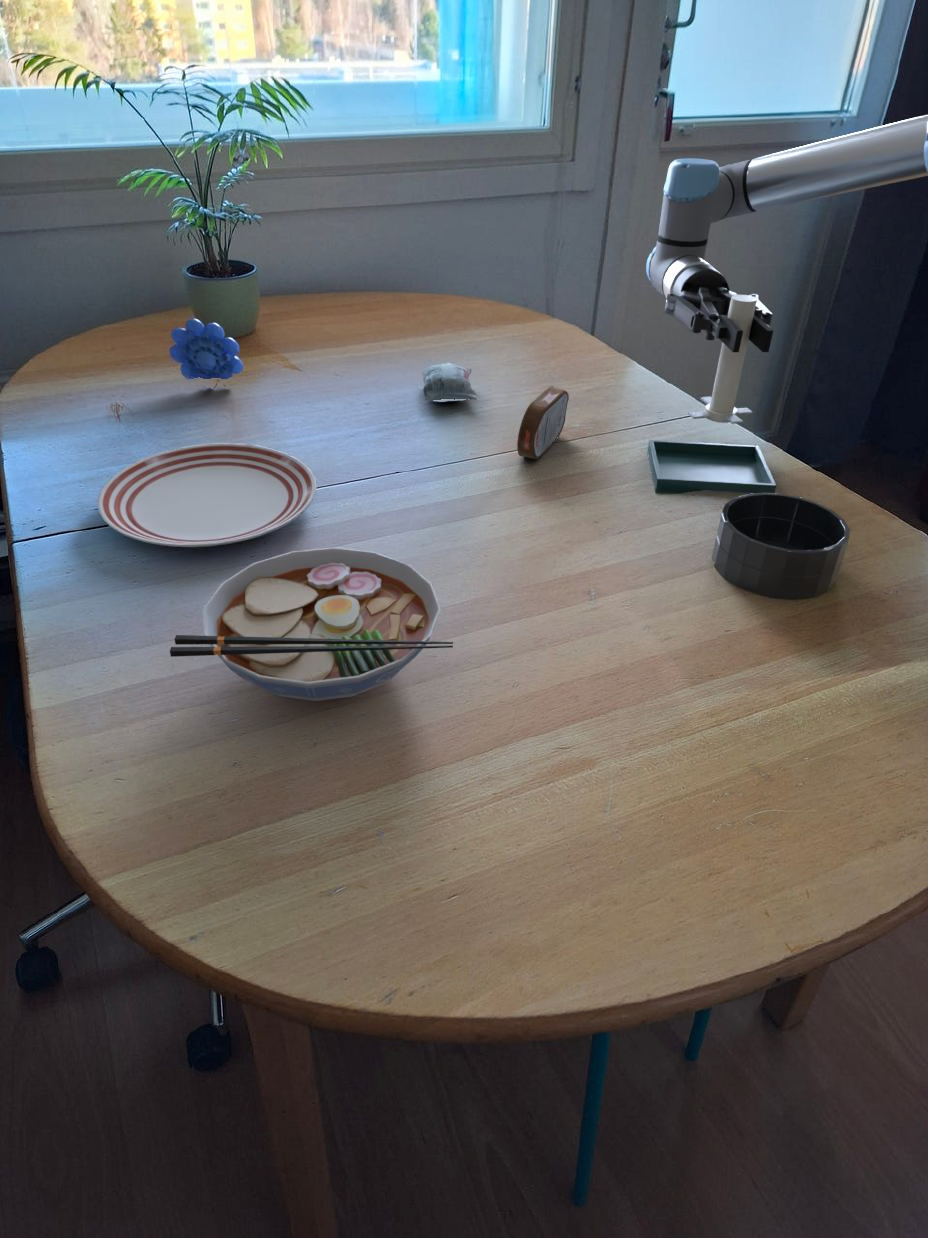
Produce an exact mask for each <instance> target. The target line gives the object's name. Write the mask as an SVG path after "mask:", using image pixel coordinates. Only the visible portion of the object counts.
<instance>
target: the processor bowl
mask: <svg viewBox="0 0 928 1238" xmlns="http://www.w3.org/2000/svg"><path fill="white" fill-rule="evenodd" d="M718 523H719V524H718V528H717V532H716V537H715V542H714V546H713V551H712V556H711V559H712V564H713V566H714V568H715V570H716V571H717V573H718V574H719V575H720V576H721V577H722V578H724V579H725V580H726V581H728V582H729V583H730V584H732V585H734V586H736V587H737V588H739V589H741V590H744V591H746V592H748V593H752V594H755V595H757V596H761V597H765V598H770V599H776V600H785V601H797V600H798V601H799V600H801V601H802V600H807V599H808V600H809V599H813V598H817V597H820V596H822V595H824V594H826V593H828V592H829V591H830V590H831V589H832V588H833V587H834V585H836V582H837V578H838V575H839V572H840V569H841V566H842V562H843V559H844V557H845V553H846V550H847V546H848V545H849V541H850V535H851V528H850V526H849V524H848V523H847V521H846V519H844V518H843V517H842V516H840V515H839V514H838V513H837V512H836V511H835V510H833V509H832V508H829V507H828V506H825V505H823V504H822V503H819V502H817V501H814V500H811V499H807V498H805V497H801V496H797V495H791V494H786V493H781V492H780V493H778V492H775V493H745V494H742V495H739V496H736V497H733V498H732V499H730V500H729V501H727V502H726V503H725V504H724V505H723V508H722V511H721V513H720V518H719V522H718Z"/></svg>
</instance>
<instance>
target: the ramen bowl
mask: <svg viewBox="0 0 928 1238" xmlns="http://www.w3.org/2000/svg"><path fill="white" fill-rule="evenodd" d="M441 610H442V606H441V604H440V601H439V598H438V596H437V592H436V591H435V587H434V584H433V583H432V582H431V581H430V580H429V579H428V578H426V577H425V576H424V575H423V574H422V573H420V572H419V571H418V570H417V569H416V568H414V567H413V566H412V565H411V564H410V563H408V562H405V561H401V560H399V559H396V558H393V557H391V556H388V555H386V554H382V553H380V552H376V551H372V550H371V551H370V550H363V549H354V548H346V547H337V546H333V547H331V546H330V547H322V548H312V549H303V550H293V551H287V552H285V553H282V554H279V555H275V556H273V557H272V556H271V557H270V558H266V559H263V560H259V561H256V562H253V563H251V564H249V565H248V566H246V567H244V568H243V569H241V570H240V571H238V572H237V573H234V575H232V576H230V577H229V578H227V579H226V580H224V581H222V582H221V583H220V585H218V587H217V589H215V591H214V593H213V594H212V595H211V597H210V598H209V599H208V600H207V602H206V603H205V605H203V607H202V635H193V634H191V635H190V634H189V635H187V634H176V635H175V637H174V643H175V645H176V646H170V648H169V654H170V655H169V656H170V657H171V658H174V657H176V658H177V657H206V656H218V657H219V659H220V660H221V661H222V662H223V663H224V664H225V665H226V666H227V668H228V669H229V670H230V671H232V673H234V674H236V675H237V676H239V678H241V679H242V680H243V679H244V680H245V681H247V682H249V683H252V684H253V685H256V686H257V687H260V688H262V689H264V690H266V691H268V692H271V693H273V694H274V695H277V696H279V697H283V698H290V699H298V700H306V701H311V702H312V701H313V702H319V701H321V702H322V701H328V700H335V699H343V698H351V697H355V696H357V695H360V694H362V693H364V692H367V691H369V690H372V689H374V688H378V687H380V686H382V685H384V684H386V683H388V682H389V681H390V680H392V679H393V678H394V677H395V676H396V675H397V674H398V673H399V672H401V670H403V669H404V668H405V667H406V666H407V665H408V664H409V663H411V662H412V661H413V660H414V659H415V658H416V657H417V656H418V655H419V654H420V653H421V652H422V651H423V649H447V648H448V649H451V648H454V646H453V645H454V642H453V641H435V640H434V641H433V640H432V641H431V640H430V639H431V637H432V636H433V632H434V629H435V627H436V624H437V621H438V619H439V616H440V613H441ZM177 645H181V646H177ZM182 645H183V646H182ZM185 645H210V646H185Z"/></svg>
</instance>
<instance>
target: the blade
mask: <svg viewBox="0 0 928 1238" xmlns="http://www.w3.org/2000/svg"><path fill="white" fill-rule="evenodd" d="M756 302H757V299H756V298H755V297H752V296H749V295H747V294H737V295H734V296H732V297H731V301H730V307H729V312H728V318H729V319H731V320H732V321H733V322H734V323H735V324H736V325H737V326H738V327H739V328H741V329H742V330H743V335H742V339H741V344H740V349H739V352H732V351H731V350H730V349H729V348H728V347H727V346H726V345H725V344H724V343H723V342H722V341H721V342H722V343H721V346H720V347H721V348H720V351H719V352H720V353H719V356H718V357H719V358H718V361H717V368H716V372H715V379H714V384H713V388H712V394H711V395H709V396H700V400H701V401H702V402H703V403H705V407H704V410H703V411H692V412H691V411H690V412H688V416H689V417H691V419H693V420H698V419H699V420H700V419H707V420H709V421H711V422H716V423H722V424H723V423H724V424H726V423H727V424H728V423H731V424H732V425H735V424H743V423H744V420H743V419H741V418H740V417H739V416H742V415H752V414H753V411H752V410H751V409H750V408H748V407H738V408H737V407H736V406H735V405H736V400H737V397H738V396H737V395H738V390H739V385H740V381H741V376H742V373H743V367H744V362H745V358H746V354H747V349H748V345H749V344H748V343H749V341H750V340H749V335H750V330H751V326H752V321H753V316H754V312H755V307H756Z"/></svg>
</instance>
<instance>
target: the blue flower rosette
mask: <svg viewBox="0 0 928 1238" xmlns="http://www.w3.org/2000/svg"><path fill="white" fill-rule="evenodd" d="M171 339H172V341H173V342H174V344H173V345H171V346H170V347H169V350H168V352H169V355H170V358H171V359H172V360H173V361H175V363H178V364H181V365H180V368H179V369H180V373H181V375H182V376H183V377H184V378H185V379H187V378H188V379H187V380H189V379H194V378H197V379H199V378H198V377H200V378H203V379H211V378H221V379H228V378H230V377H233V375H234V374H235V375H239V374H240V373H242V372H243V371H244V363H243V360H241V359H240V358H239V356H237V355H238V354H239V353H240V350H241V349H240V345H239V342H237V341H236V339H234V338H233V337H227V336H226V337H225V331H224V328H223V327H222V326H221V325H220V324H219V323H216V322H212V321H211V322H209V323H207V324H206V325H204V323H202V321H200V319H197V318H193V317H191V318H189V319H187V320H186V321H185V328H184V327H179V326H176V327H175V328H173V329H172V330H171Z"/></svg>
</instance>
